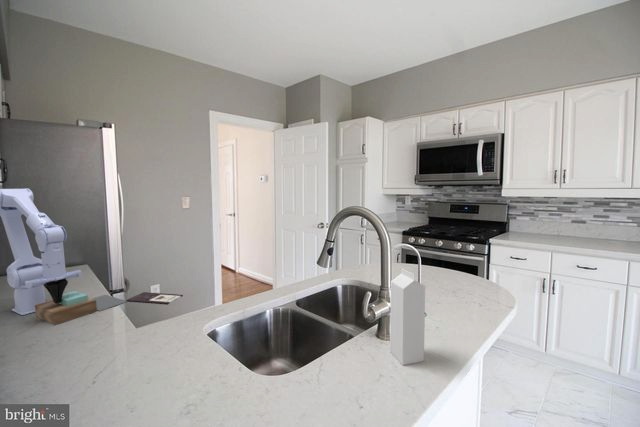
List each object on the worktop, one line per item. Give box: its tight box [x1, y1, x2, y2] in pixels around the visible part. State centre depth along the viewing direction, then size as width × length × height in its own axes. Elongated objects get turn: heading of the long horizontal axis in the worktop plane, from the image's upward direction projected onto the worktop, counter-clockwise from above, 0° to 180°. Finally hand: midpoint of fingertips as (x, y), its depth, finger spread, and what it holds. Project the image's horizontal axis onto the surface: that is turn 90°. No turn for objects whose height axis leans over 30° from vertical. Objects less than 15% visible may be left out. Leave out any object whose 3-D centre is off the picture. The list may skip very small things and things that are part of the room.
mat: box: [91, 294, 129, 312], centre depth 115 cm, size 16×10×1 cm, turn 61°
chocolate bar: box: [125, 291, 184, 306], centre depth 119 cm, size 9×1×18 cm
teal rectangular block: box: [60, 290, 89, 306], centre depth 106 cm, size 9×6×2 cm, turn 61°
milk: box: [389, 267, 426, 366], centre depth 75 cm, size 6×6×22 cm
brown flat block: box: [34, 297, 98, 326], centre depth 105 cm, size 14×12×4 cm
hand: (57, 302), depth 103 cm, fingers closed
